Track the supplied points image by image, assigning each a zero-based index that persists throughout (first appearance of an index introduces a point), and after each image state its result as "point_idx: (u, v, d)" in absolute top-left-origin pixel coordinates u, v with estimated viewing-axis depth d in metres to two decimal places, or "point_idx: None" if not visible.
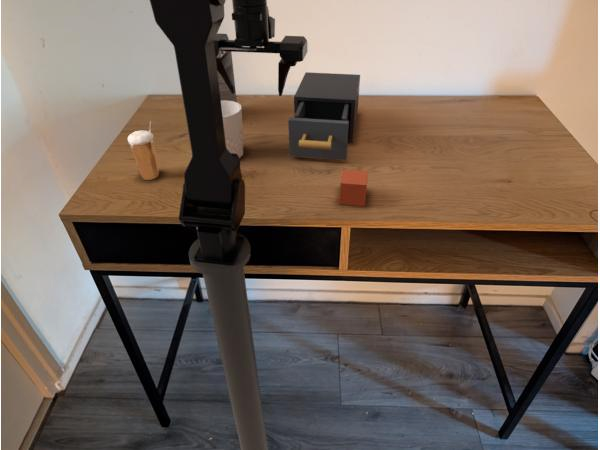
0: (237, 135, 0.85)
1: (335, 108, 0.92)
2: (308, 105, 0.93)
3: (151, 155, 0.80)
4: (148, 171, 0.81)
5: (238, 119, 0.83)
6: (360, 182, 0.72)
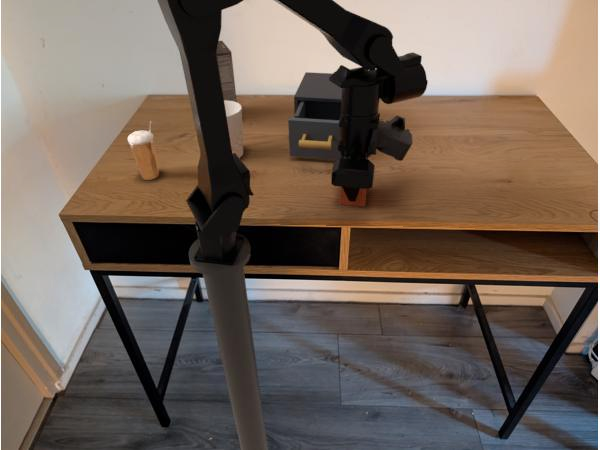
0: (237, 135, 0.85)
1: (335, 108, 0.92)
2: (308, 105, 0.93)
3: (151, 155, 0.80)
4: (148, 171, 0.81)
5: (238, 119, 0.83)
6: None
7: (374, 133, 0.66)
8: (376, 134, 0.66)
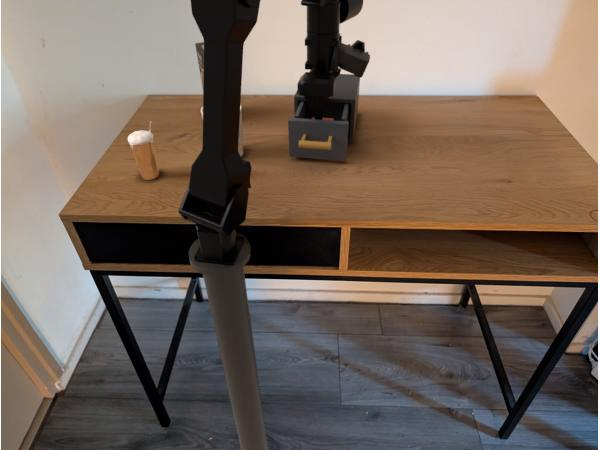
0: None
1: (335, 108, 0.92)
2: (308, 105, 0.93)
3: (151, 155, 0.80)
4: (148, 171, 0.81)
5: None
6: None
7: (335, 50, 0.75)
8: (337, 51, 0.75)
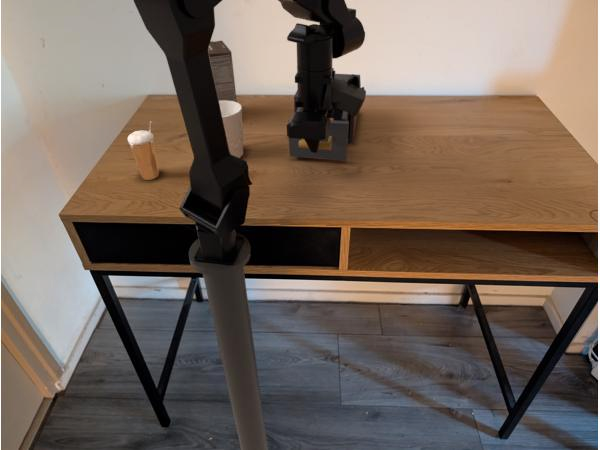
0: (237, 135, 0.85)
1: (335, 108, 0.92)
2: None
3: (151, 155, 0.80)
4: (148, 171, 0.81)
5: (238, 119, 0.83)
6: None
7: (328, 88, 0.69)
8: (330, 89, 0.69)
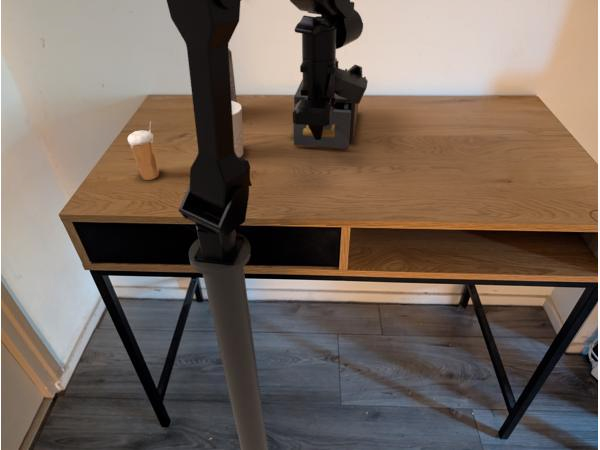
0: (237, 135, 0.85)
1: None
2: None
3: (151, 155, 0.80)
4: (148, 171, 0.81)
5: (238, 119, 0.83)
6: None
7: (331, 77, 0.73)
8: (333, 78, 0.73)
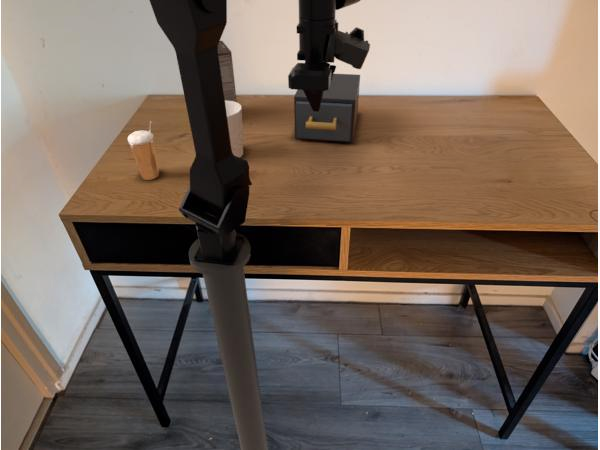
0: (237, 135, 0.85)
1: None
2: None
3: (151, 155, 0.80)
4: (148, 171, 0.81)
5: (238, 119, 0.83)
6: None
7: (331, 39, 0.67)
8: (333, 40, 0.67)
